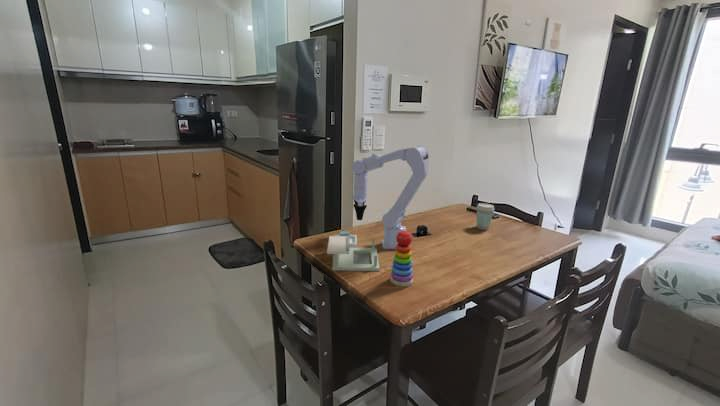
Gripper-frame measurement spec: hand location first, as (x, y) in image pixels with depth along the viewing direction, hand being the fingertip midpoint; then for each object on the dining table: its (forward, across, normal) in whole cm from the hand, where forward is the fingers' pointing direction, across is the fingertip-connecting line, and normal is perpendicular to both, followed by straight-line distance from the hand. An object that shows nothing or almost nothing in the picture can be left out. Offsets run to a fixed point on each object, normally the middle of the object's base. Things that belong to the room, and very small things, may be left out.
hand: (359, 217), depth 150 cm
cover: (+4, +23, -8) cm, 25 cm away
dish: (+10, +6, -6) cm, 13 cm away
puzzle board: (+10, +23, -2) cm, 25 cm away
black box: (+11, -7, +30) cm, 32 cm away
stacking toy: (+10, +39, +14) cm, 43 cm away
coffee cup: (+10, -17, +63) cm, 66 cm away
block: (+9, +6, -6) cm, 13 cm away
